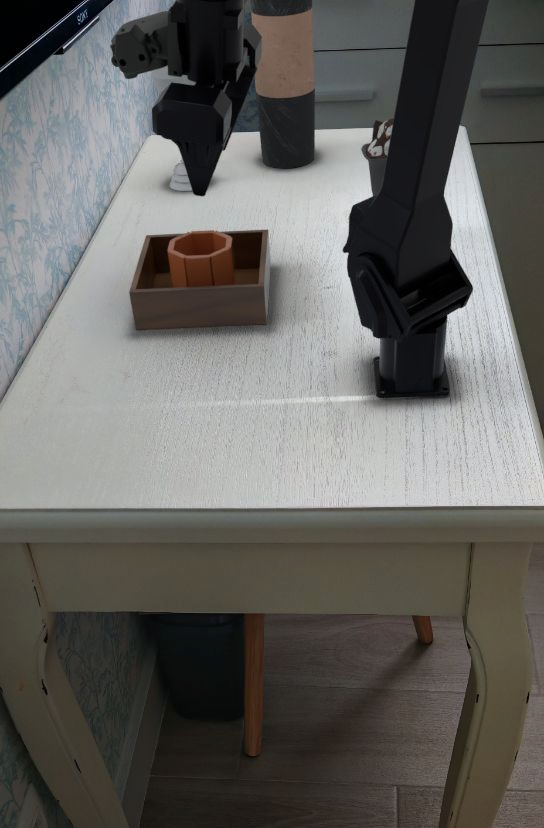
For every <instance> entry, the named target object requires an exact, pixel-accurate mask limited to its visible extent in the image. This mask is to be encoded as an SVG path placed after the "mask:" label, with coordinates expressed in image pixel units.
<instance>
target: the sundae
mask: <svg viewBox="0 0 544 828" xmlns="http://www.w3.org/2000/svg"><path fill="white" fill-rule="evenodd" d="M393 120H394V117H393V118H389V119H387V120H384V122H383V121H380V120H376V119H375V120H374V121H373V124H372V125H373V126H372V137H371V141H370V142H368V143H365V144H363V145H362V146H361V149H360V150H361V153H362V155H363V157H364V158H365V160H367V162H368V168H369V170H368V171H369V178H370V179H369V180H370V189H371V194H372V196H375V195H377V194H378V193H379V191H380V189H381V186H382V182H383V177H384V171H385V165H386V160H387V154H388V148H389V143H390V137H391V131H392V126H393Z"/></svg>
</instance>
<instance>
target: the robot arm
mask: <svg viewBox="0 0 544 828" xmlns="http://www.w3.org/2000/svg"><path fill="white" fill-rule="evenodd" d="M489 2H490V0H414V1H413V8H412V13H411V19H410V24H409V30H408V35H407V41H406V47H405V51H404V57H403V64H402V70H401V74H400V75H401V76H400V81H399V87H398V92H397V98H396V104H395V109H394V114H393V118H394V120H393V126H392V131H391V137H390V143H389V148H388V154H387V160H386V165H385V171H384V177H383V182H382V186H381V189H380V191H379V193H378V194H377V195H375V196H373V195H372V196H370V197H368V198H366V199H364V200H361V201H359V202H357V203H355V204H353V205H352V206H351V210H350V212H349V216H348V234H347V237H346V238H347V239H346V242H345V244H344V246H343V248H342V253H343V254H347V258H346V271H347V277H348V278H349V282H350V286H351V288H352V294H353V297H354V298H353V299H354V301H355V305H356V309H357V313H358V317H359V321H360V324H361V326H362V327H363V328H366V329H367V330H370V332H372V337H374V338H376V339H379V356H374V357H373V358H372V365H373V374H374V375H373V376H374V385H375V394H376V395H375V396H376V398H378V399H405V398H406V399H407V398H434V397H435V398H436V397H438V398H439V397H448V396H450V394H451V384H450V380H449V375H448V371H447V365H446V360H445V352H446V340H447V328H448V315H450V314H452V313H454V312H455V311H457V310H459V309H463V308H464V307H466V306H467V305H468V302H469V300H470V297H471V296H472V294H473V291H474V286H473V284H472V282H471V280H470V279H469V277H468V276H467V274H466V272H465V270H464V268H463V267H462V265H461V263H460V261H459V260H458V258H457V256H456V255H455V253H454V251H453V249H452V237H453V228H454V225H453V224H454V223H453V219H452V216H451V213H450V210H449V207H448V203H447V201H446V198H445V190H446V185H447V181H448V177H449V174H450V168H451V165H452V159H453V155H454V151H455V147H456V143H457V138H458V134H459V130H460V125H461V121H462V117H463V113H464V108H465V104H466V100H467V96H468V91H469V87H470V83H471V78H472V74H473V71H474V66H475V61H476V58H477V53H478V49H479V45H480V40H481V36H482V31H483V29H484V23H485V18H486V15H487V11H488V8H489V7H488V6H489ZM249 6H250V0H175V1H174V3H173V4H172V5H171V6H170V7H169V9H168V10H163V11H160V12H157V13H152V14H150V15H146V16H143V17H140V18H135V19H133V20H129V21H127V22H125V23H123V24H122V25H121V26H120V27H119V28H118V30H117V31H116V32H115V34H114V35H113V37H112V38H111V40H110V42H111V44H110V50H111V52H112V57H111V59H110V61H111V64H112V65H113V67H115V68H118V69H119V71H120V72H121V73H122V74H123V77H124V79H125V80H132V79H136V78H137V77H138V75H141V74H145V73H148V72H150V71H153V70H156V69H160V68H163V67H166V66H168V75H170V76H177V77H182V75H187V79H188V80H190V81H193V82H196V84H195V85H188V84H181V83H173V82H171V83H170V84H169V85H168V86H167V87H166V88H165V89H164V90H163V91H162V92H161V94H160V93H159V96H158V97H157V99H156V101H155V102H154V103H153V106H152V108H151V121H152V122H151V124H152V125H151V126H152V132H153V133H154V134H155V135H156V136H161V138H163V139H165V140H170V141H171V142H172V143H174V144H175V145H176V146H177V148H178V150H179V154H180V156H181V160H182V159H183V162H184V165H185V168H186V172H187V175H188V178H189V181H190V185H191V188H192V190H191V191H192V194H193V195H194V196H197V197H205V196H206V194H207V192H208V190H209V187H210V184H211V182H212V179H213V176H214V174H215V171H216V169H217V166H218V163H219V162H220V158H221V155H222V153H223V151H226V149H227V147H228V144H229V142H230V139H231V137H232V134H233V131H234V129H235V127H236V124H237V121H238V119H239V117H240V115H241V112H242V109H243V106H244V104H245V101H246V99H247V97H248V94H249V92H250V90H251V87H252V84H253V83H254V80H255V74H256V72H257V69H258V67H257V66H258V64H259V61H260V59H261V50H262V36H261V35H260V33H259V32H258V31H257V29H256V28H255V27H254V26H253V25H252V24H251V23H245V18H246V15H247V13H248V11H249V9H250V8H249ZM247 61H248V63H247Z"/></svg>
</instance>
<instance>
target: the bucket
mask: <svg viewBox="0 0 544 828" xmlns="http://www.w3.org/2000/svg"><path fill="white" fill-rule="evenodd" d="M221 232H222V231H219V230H213V229H212V230H211V229H210V230H192V231H187V232H186V233H185V234H183V233H182V234H183V235H180V236H178V237H176V238H173V239H171V240H170V243H169V247H168V258H169V265H170V272H171V279H172V286H173V288H178V287H201V286H224V285H236V273H235V262H234V251H233V240H232V238H231V236H229V235H226V234H224V233H221Z"/></svg>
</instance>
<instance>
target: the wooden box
mask: <svg viewBox="0 0 544 828" xmlns="http://www.w3.org/2000/svg"><path fill="white" fill-rule="evenodd" d="M220 232H221V233H224V234H226V235H229V236H231V238H232V240H233V251H234V262H235V273H236V285H224V286H201V287H178V288H173V286H172V279H171V272H170V265H169V258H168V247H169V243H170V240H171V239H173V238H176V237H178V236H180V235H183V234H185V233H183V232H182V233H163V234H146V235H145V237H144V241H143V244H142V248H141V251H140V253H139V258H138V261H137V264H136V267H135V271H134V274H133V276H132V281H131V285H130V287H129V291H128V294H129V300H130V304H131V310H132V316H133V323H134V328H135V331H152V330H174V329H176V330H178V329H180V330H181V329H201V328H202V329H203V328H226V327H249V326H250V327H251V326H267V325H268V311H269V298H270V297H269V295H270V285H271V284H270V282H271V265H272V264H271V251H270V250H271V249H270V232H269V229H248V230H247V229H246V230H227V231H220Z"/></svg>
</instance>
